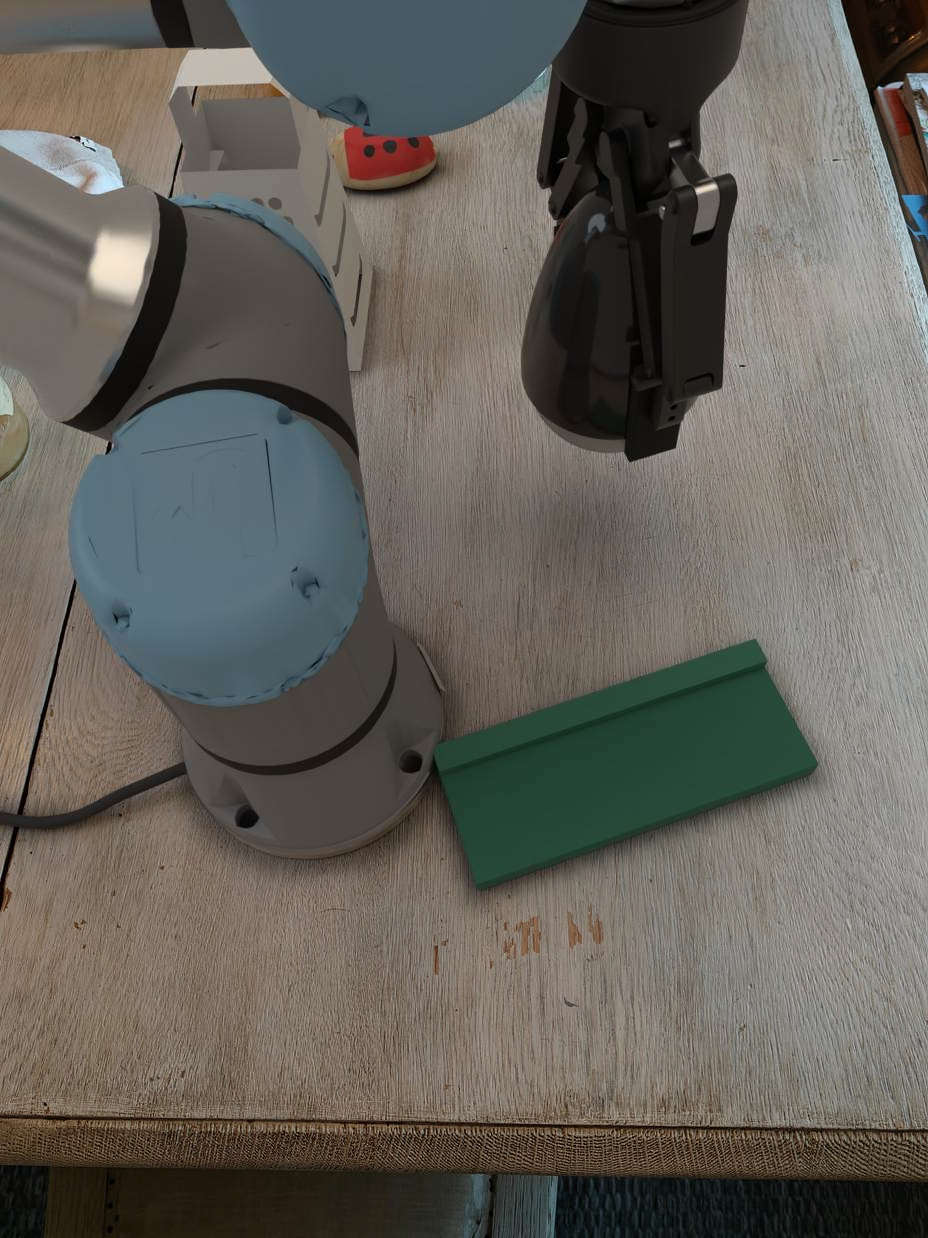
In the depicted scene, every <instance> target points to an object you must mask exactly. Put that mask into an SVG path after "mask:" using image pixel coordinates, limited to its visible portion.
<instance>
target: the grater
mask: <svg viewBox="0 0 928 1238" xmlns="http://www.w3.org/2000/svg"><path fill="white" fill-rule="evenodd" d="M177 71H178V72H177V75H176V77H175V81H174V84H173V87H172V91H171V94H170V96H169V100H168V102H167V103H168V107H169V111H170V113H171V116H172V118H173V121H174V124H175V127H176V129H177V133H178V136H179V138H180V141H181V145H182V147H183V150H184V152H185V154H184V157H183V161H182V164H181V167H180V171H179V173H180V178H181V183H182V188H183V192H184V195H185V194H194V195H196V199H206V198H211V197H212V195H213V194H214V193H222V194H228V195H233V196H237V197H241V198H244V199H247V200H250V201H252V202H255V203H257V204H259V205H262V206H264V207H266V208H268V209H270V210H272V211H273V212H275V213H276V214H278V215H280V216H281V217H283V218H284V219H285V220H287V221H288V222H289V223H291V224H292V225H293V226H294V227H295V228H296V229H298V230H299V231H300V232H301V233H302V234H303V235H304V236H305V237H306V239H307V240H308V241H309V242H310V243H311V244H312V246H313V247H314V249H315V250H316V251H317V253H318V254H319V256H320V257H321V259H322V261H323V263H324V264H325V266H326V268H327V271H328V273H329V275H330V278H331V281H332V284H333V288H334V291H335V296H336V298H337V300H338V302H339V305H340V308H341V310H342V314H343V319H344V323H345V331H346V332H347V359H348V367H349V372H361V371H362V364H363V363H362V362H363V356H364V355H363V354H364V348H365V339H366V331H367V325H368V324H367V323H368V315H369V308H370V300H371V292H372V284H373V275H374V272H373V269H372V266H371V263H370V260H369V258H368V254H367V252H366V249H365V246H364V243H363V241H362V238H361V234H360V231H359V228H358V225H357V223H356V220H355V216H354V214H353V211H352V208H351V206H350V202H349V200H348V196H347V194H346V191H345V187H344V186H343V185H342V182H341V179H340V176H339V174H338V171H337V168H336V165H335V162H334V159H333V156H332V153H331V150H330V148H329V146H330V145H329V142H328V139H327V136H326V133H325V130H324V128H323V125H322V121H321V118H320V116H319V114H318V110H314V109H312V108H310V107H309V106H307V105H305V104H303V103H301V102H300V101H299V100H297V99H296V98H295V97H294V96H293V95H291V94H290V93H289V92H288V91H287V90H286V89H284V88H283V87H282V85H281V84H280V83H279V82H278V81H277V80H276V79H275V78H274V77H273V76H272V75H271V74H270V73H269V72H268V71H267V69H266V68H265V67H264V65H263V64H262V63H261V61H260V60H259V59H258V57H257V56H256V54H255V52H254V51H253V49H252V48H233V49H212V48H200V49H188V51H187V52H186V55H185V57H184V58H183V60H182V62H181V64H180V66H179V68H178V70H177ZM259 84H271V85H272V86H273V87H274V88H275V89H277V91H279V92H280V93H281V94H282V95H284V96H266V97H265V96H264V97H263V96H261V97H235V98H206V99H200V102H199V105H198V109H197V112H195V110H194V106H193V103H192V99H191V96H190V94H189V92H188V88H187V87H199V86H200V87H201V86H202V87H204V86H205V87H206V86H231V85H233V86H234V85H259ZM336 274H337V275H336ZM360 274H362V275H361V283H360V289H359V298H358V305H357V312H356V319H355V323H354V325H353V322H352V319H351V318H352V317H353V316H354V315H355V308H356V300H357V293H358V285H359V278H360V277H359V276H360Z"/></svg>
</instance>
